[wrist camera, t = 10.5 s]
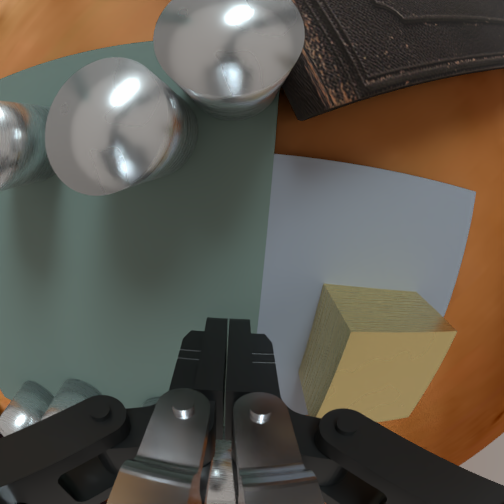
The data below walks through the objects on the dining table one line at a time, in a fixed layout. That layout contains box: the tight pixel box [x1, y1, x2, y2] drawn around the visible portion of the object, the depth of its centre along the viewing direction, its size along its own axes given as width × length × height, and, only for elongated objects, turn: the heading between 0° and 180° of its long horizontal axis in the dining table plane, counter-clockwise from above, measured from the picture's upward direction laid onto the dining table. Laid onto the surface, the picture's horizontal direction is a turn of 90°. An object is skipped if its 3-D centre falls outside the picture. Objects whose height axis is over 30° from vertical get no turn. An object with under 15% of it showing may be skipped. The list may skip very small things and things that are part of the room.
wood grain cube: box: [298, 283, 457, 422], centre depth 10 cm, size 4×4×3 cm
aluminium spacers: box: [0, 0, 305, 504], centre depth 9 cm, size 18×20×4 cm
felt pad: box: [257, 154, 476, 415], centre depth 11 cm, size 9×12×1 cm
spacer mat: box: [0, 41, 279, 426], centre depth 11 cm, size 18×20×1 cm
